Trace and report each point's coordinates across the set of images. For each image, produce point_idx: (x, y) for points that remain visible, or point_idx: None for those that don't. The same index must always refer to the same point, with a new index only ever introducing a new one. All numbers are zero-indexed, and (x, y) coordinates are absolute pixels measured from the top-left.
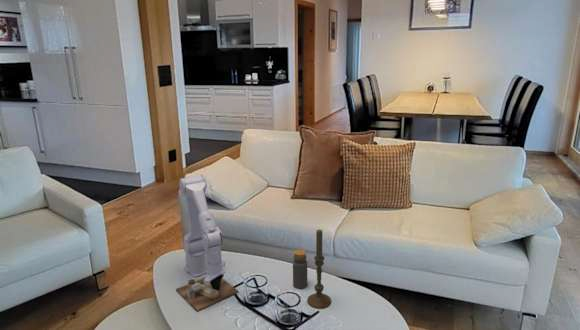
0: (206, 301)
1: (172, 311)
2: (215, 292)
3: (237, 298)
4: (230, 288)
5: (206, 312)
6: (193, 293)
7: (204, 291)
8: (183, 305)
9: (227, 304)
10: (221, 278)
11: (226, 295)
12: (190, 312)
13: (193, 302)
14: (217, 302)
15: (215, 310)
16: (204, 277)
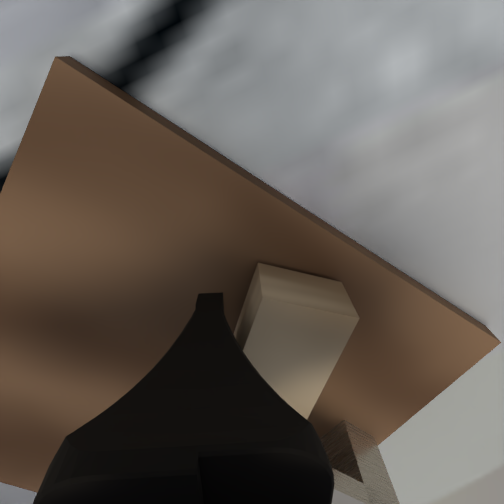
0: (369, 327)
1: (471, 459)
2: (304, 316)
3: (189, 18)
4: (59, 199)
5: (493, 255)
6: (367, 478)
7: (305, 418)
8: (400, 438)
9: (343, 102)
10: (166, 418)
11: (219, 181)
12: (487, 366)
13: (395, 407)
14: (332, 228)
15: (463, 188)
16: (24, 487)
